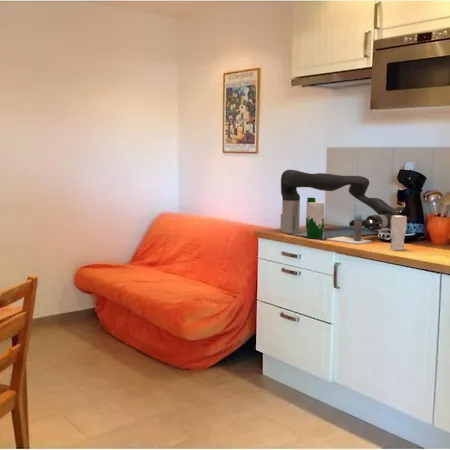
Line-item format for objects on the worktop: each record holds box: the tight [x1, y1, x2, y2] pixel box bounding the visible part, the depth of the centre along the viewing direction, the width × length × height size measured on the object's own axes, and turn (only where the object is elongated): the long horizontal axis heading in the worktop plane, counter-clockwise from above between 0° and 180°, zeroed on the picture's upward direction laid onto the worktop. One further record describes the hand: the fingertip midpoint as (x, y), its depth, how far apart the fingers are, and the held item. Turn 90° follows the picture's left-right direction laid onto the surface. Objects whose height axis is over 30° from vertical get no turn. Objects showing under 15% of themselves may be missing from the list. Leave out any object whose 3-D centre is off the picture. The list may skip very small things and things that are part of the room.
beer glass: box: [389, 215, 408, 251], centre depth 257 cm, size 7×7×15 cm
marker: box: [353, 213, 363, 241], centre depth 277 cm, size 4×4×12 cm
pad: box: [326, 236, 373, 245], centre depth 280 cm, size 18×12×1 cm, turn 42°
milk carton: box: [305, 197, 325, 239], centre depth 290 cm, size 9×9×20 cm
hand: (357, 225), depth 276 cm, fingers open, 8 cm apart
